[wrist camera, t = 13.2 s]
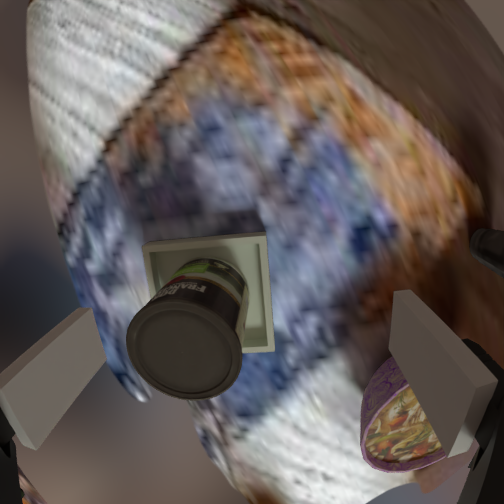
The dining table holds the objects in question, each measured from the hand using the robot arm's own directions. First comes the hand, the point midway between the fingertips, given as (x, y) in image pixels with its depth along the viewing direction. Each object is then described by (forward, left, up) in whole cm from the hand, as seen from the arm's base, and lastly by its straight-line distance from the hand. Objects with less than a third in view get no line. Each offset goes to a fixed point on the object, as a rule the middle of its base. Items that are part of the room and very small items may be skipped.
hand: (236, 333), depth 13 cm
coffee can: (+8, -7, -25) cm, 27 cm away
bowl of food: (+24, +21, -26) cm, 41 cm away
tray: (+8, -6, -26) cm, 28 cm away
